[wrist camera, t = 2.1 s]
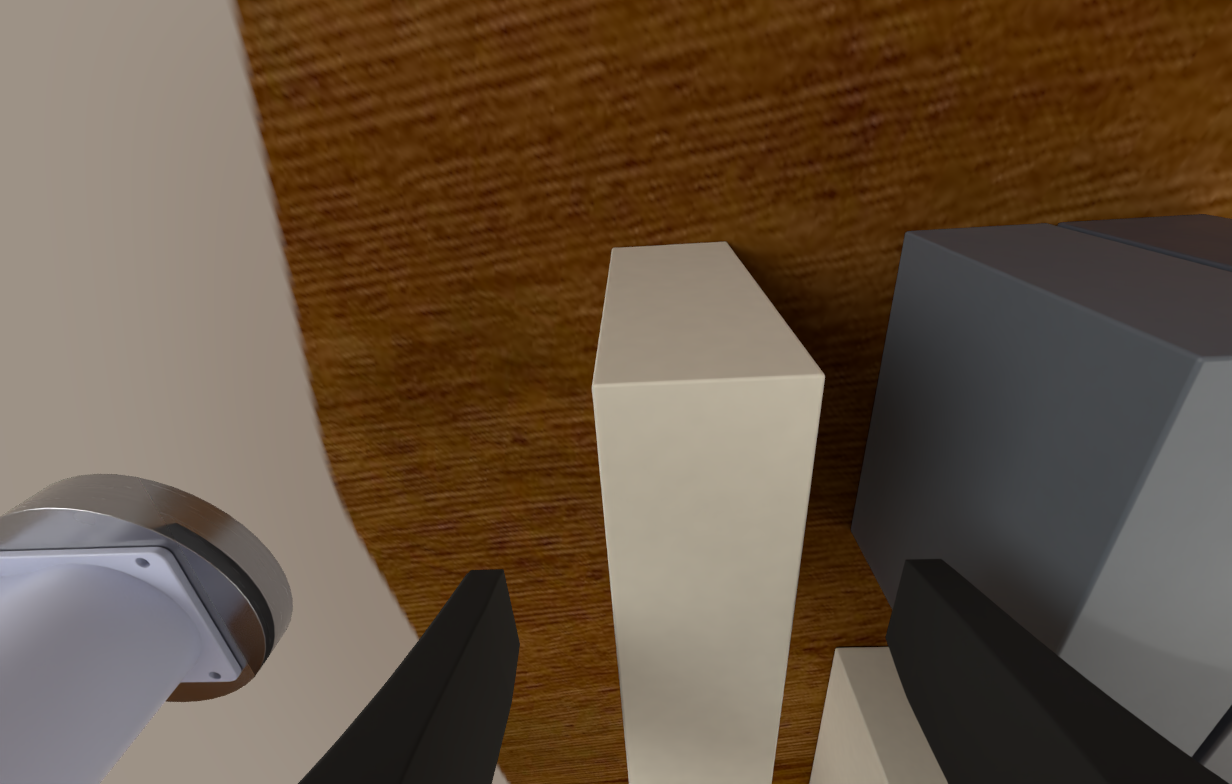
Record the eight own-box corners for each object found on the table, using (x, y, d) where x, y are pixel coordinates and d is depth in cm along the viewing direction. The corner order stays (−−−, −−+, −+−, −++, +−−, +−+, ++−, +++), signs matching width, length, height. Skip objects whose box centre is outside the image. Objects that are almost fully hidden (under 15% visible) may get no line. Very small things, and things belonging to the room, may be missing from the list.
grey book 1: (849, 530, 18) (988, 795, 11) (904, 230, 14) (1201, 358, 6) (955, 527, 18) (1165, 795, 11) (1047, 222, 13) (1512, 344, 6)
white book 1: (630, 536, 19) (629, 797, 12) (611, 247, 14) (591, 385, 7) (717, 534, 18) (770, 796, 11) (726, 240, 14) (827, 374, 7)
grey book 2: (962, 526, 18) (1177, 795, 11) (1057, 222, 13) (1535, 343, 6) (1070, 523, 18) (1360, 794, 11) (1204, 213, 13) (1867, 328, 6)
